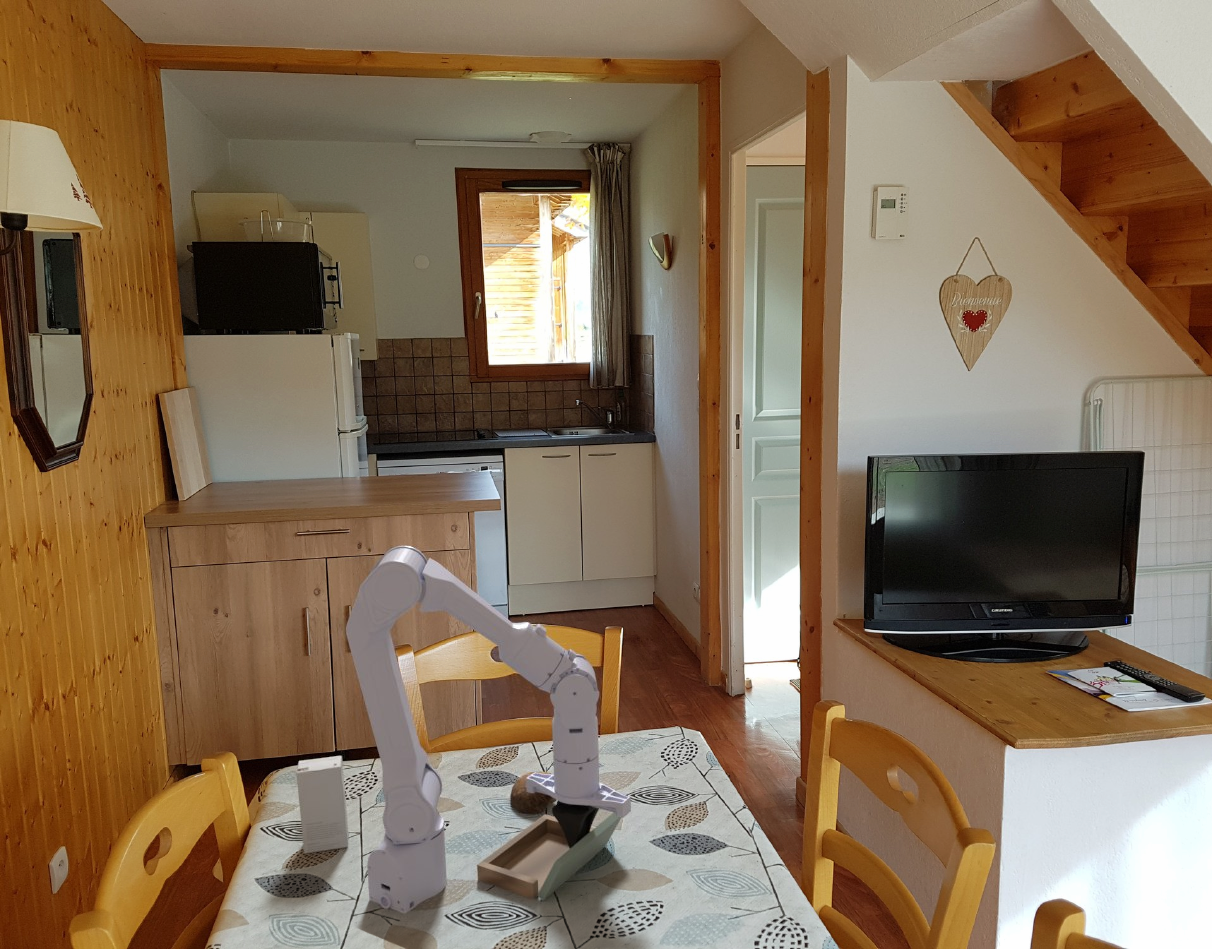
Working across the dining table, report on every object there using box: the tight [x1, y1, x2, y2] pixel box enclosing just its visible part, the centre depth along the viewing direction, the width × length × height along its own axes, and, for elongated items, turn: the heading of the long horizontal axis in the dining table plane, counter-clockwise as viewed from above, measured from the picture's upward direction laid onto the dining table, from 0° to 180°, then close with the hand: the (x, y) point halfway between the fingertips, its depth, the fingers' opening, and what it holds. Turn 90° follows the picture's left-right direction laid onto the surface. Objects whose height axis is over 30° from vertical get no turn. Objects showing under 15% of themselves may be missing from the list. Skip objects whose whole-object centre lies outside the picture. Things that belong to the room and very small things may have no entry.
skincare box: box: [295, 755, 350, 854], centre depth 132 cm, size 6×4×12 cm
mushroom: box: [509, 771, 557, 815], centre depth 140 cm, size 8×8×6 cm
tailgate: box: [537, 812, 622, 902], centre depth 120 cm, size 1×15×6 cm, turn 149°
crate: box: [476, 814, 595, 900], centre depth 124 cm, size 9×15×4 cm, turn 149°
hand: (579, 855), depth 121 cm, fingers closed, pressing on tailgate
